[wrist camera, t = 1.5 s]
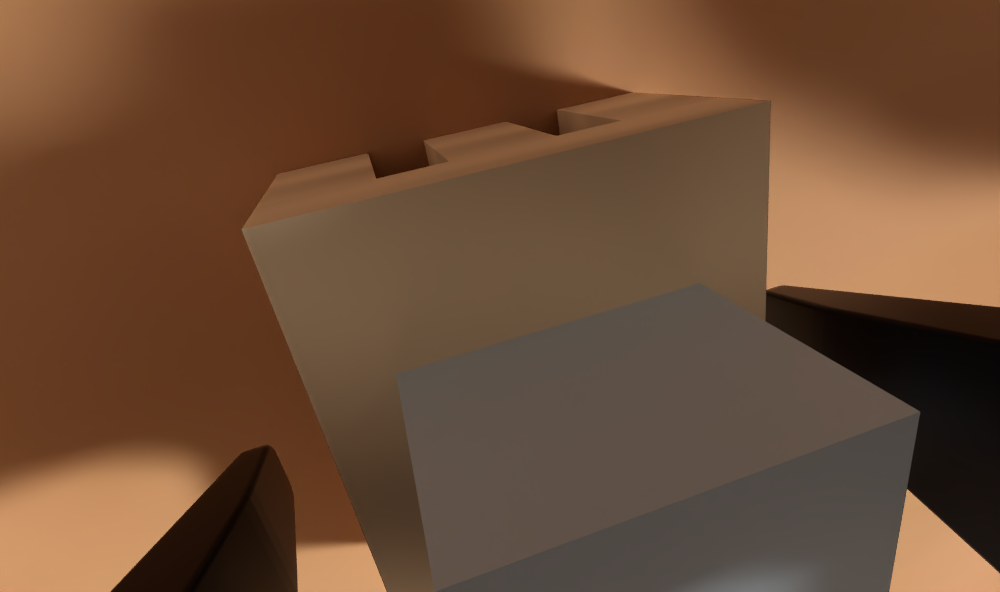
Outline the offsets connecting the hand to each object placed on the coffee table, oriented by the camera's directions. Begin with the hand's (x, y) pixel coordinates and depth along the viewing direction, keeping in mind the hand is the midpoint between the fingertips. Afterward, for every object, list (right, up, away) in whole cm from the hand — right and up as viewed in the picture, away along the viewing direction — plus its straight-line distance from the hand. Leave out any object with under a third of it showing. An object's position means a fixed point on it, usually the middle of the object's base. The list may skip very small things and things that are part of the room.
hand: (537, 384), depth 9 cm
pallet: (0, +1, +2) cm, 2 cm away
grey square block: (0, -1, -1) cm, 2 cm away
